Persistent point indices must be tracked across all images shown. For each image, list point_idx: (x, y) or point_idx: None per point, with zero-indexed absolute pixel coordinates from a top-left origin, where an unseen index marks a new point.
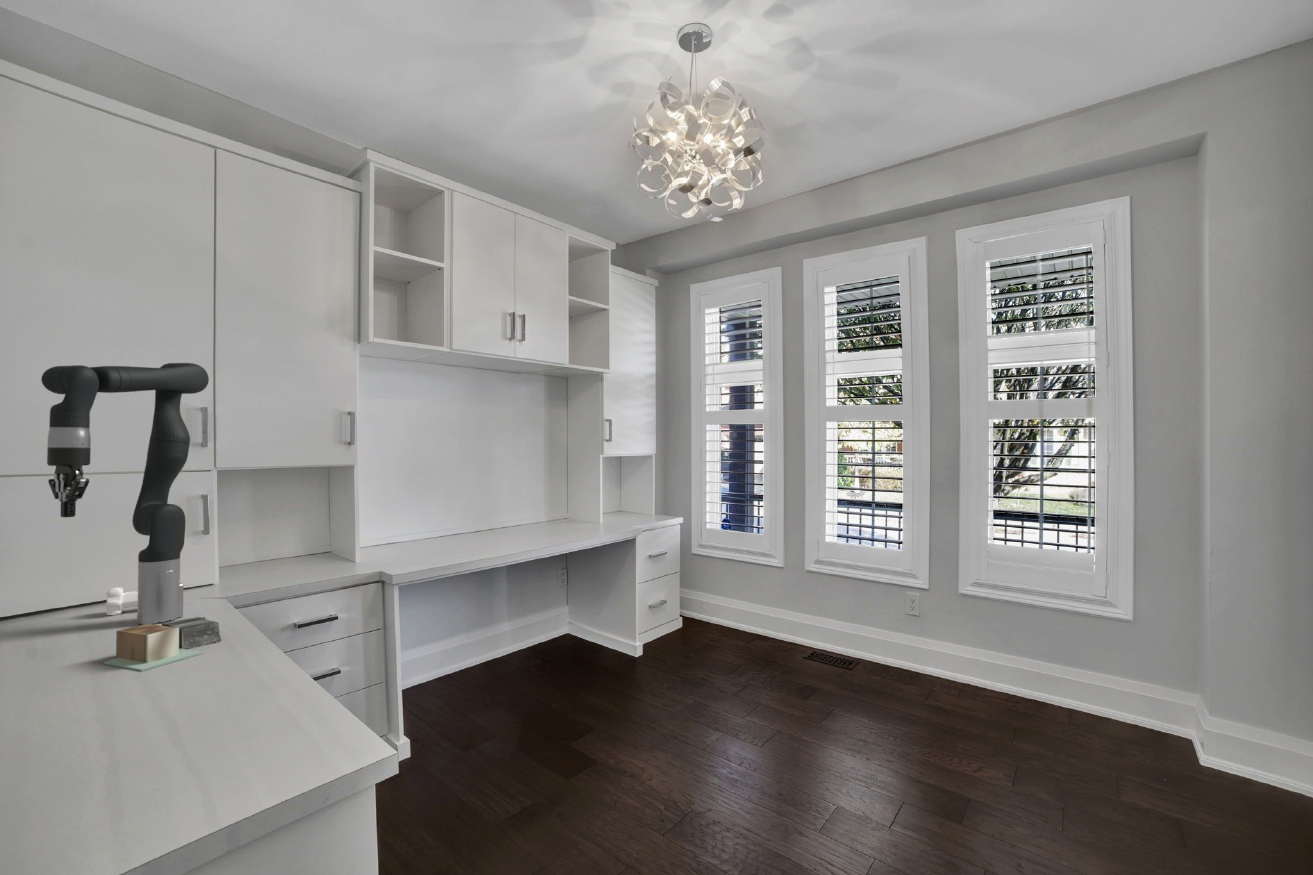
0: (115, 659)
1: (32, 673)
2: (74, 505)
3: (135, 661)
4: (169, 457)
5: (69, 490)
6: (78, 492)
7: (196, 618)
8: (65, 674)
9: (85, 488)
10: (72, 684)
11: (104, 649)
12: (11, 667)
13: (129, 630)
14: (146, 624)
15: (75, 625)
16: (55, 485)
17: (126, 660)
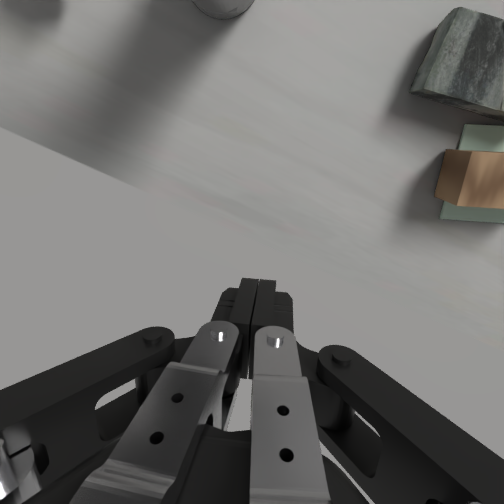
0: (448, 205)
1: (371, 271)
2: (291, 326)
3: None
4: None
5: (360, 482)
6: (345, 400)
7: (476, 25)
8: (428, 262)
9: (467, 439)
10: (487, 285)
11: (351, 167)
12: (306, 263)
13: (485, 198)
14: (477, 156)
15: (96, 76)
16: (51, 477)
17: None
